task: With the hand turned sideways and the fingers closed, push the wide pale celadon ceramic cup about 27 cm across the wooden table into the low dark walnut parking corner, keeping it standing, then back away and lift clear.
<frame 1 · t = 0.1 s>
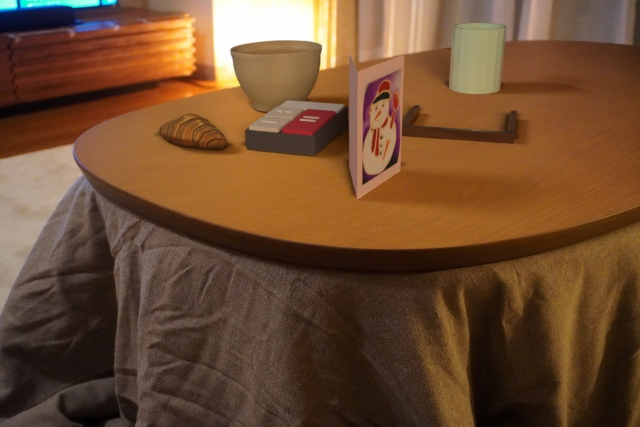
planter bowl: (279, 108, 113), on the table
cup: (474, 88, 124), on the table
calculator: (299, 139, 95), on the table
greeting card: (360, 181, 79), on the table
bay: (460, 124, 101), on the table
croissant: (192, 146, 94), on the table
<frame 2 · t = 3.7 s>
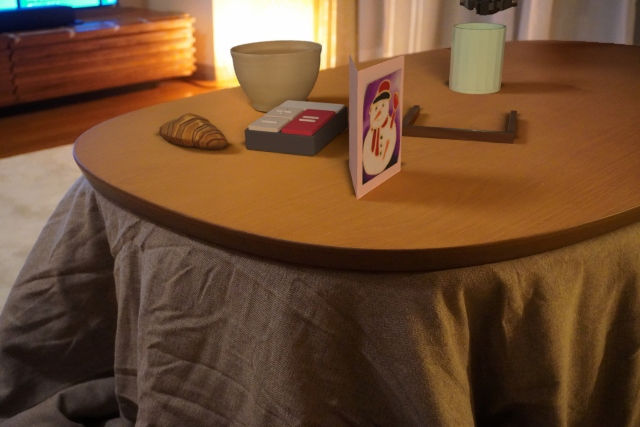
hand: (483, 8, 125), 14 cm above the table, tool horizontal, fingers closed
nothing on the table moved.
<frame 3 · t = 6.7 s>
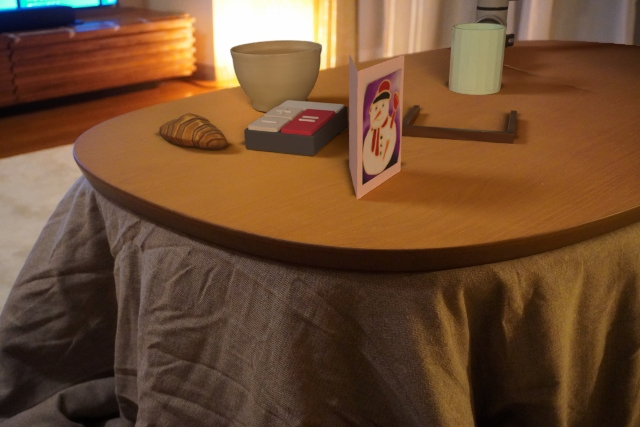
hand: (478, 51, 125), 7 cm above the table, tool horizontal, fingers closed
cup: (474, 89, 123), on the table, touching gripper
everything else where it was.
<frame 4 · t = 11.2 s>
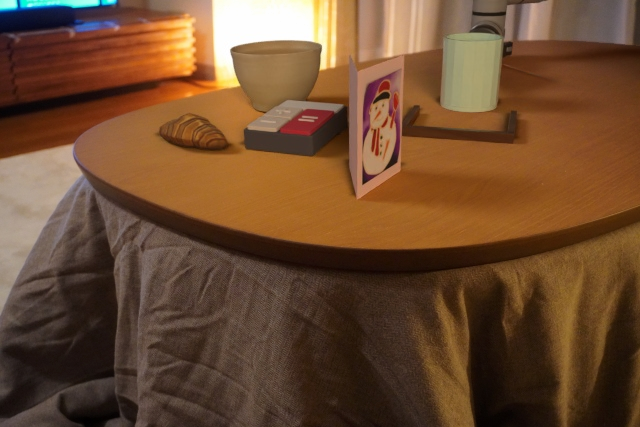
hand: (472, 61, 113), 7 cm above the table, tool horizontal, fingers closed
cup: (468, 105, 112), on the table, touching gripper
everything else where it was.
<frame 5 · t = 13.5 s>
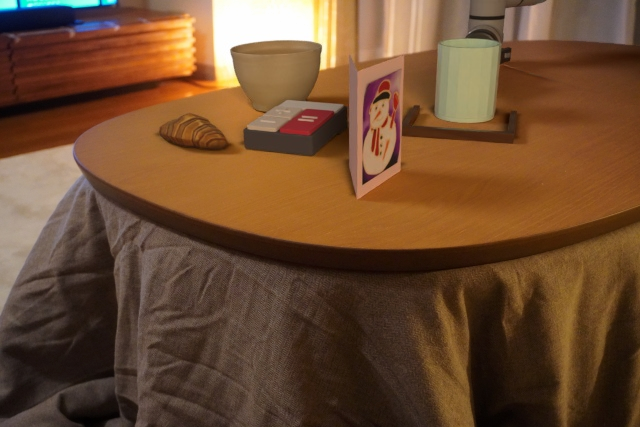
hand: (468, 69, 107), 7 cm above the table, tool horizontal, fingers closed
cup: (464, 115, 106), on the table, touching gripper
everything else where it was.
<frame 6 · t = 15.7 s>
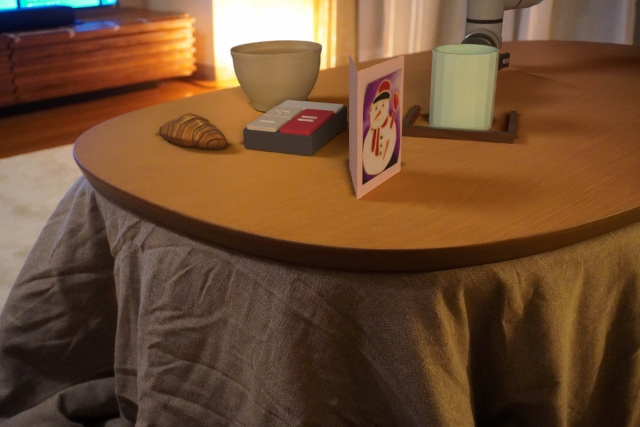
hand: (465, 76, 102), 7 cm above the table, tool horizontal, fingers closed
cup: (459, 124, 100), on the table, touching gripper
everything else where it was.
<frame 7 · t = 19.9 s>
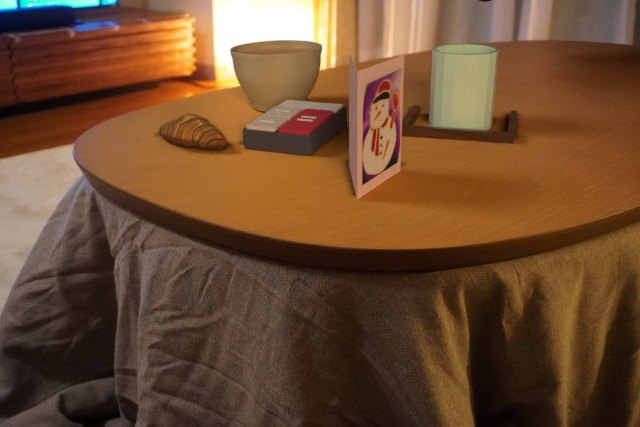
cup: (459, 124, 100), on the table
everything else where it was.
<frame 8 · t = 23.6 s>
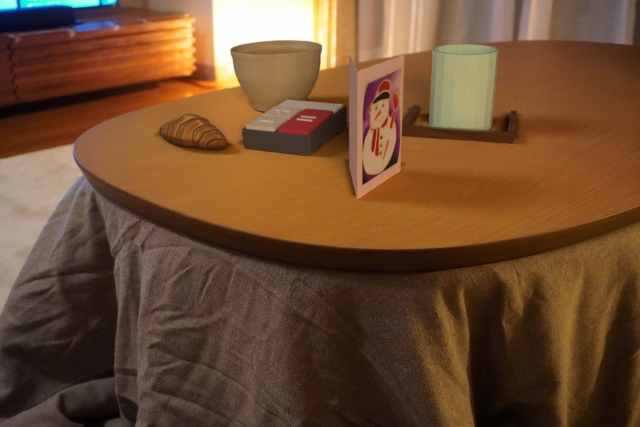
nothing on the table moved.
at the end: cup inside the target area on the bay (0.2 cm from its centre), point 0.0 cm above the bay's base; cup tilted 0°; cup moved 26.7 cm from its start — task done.
